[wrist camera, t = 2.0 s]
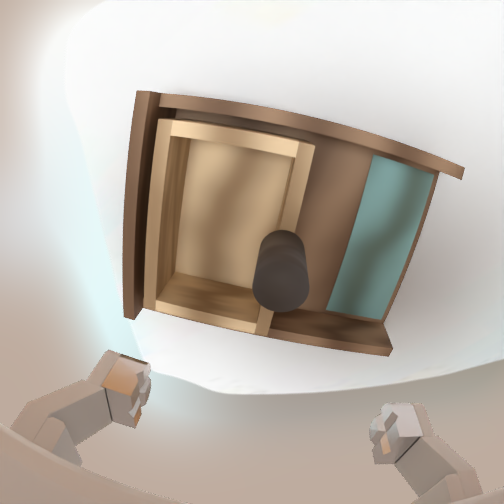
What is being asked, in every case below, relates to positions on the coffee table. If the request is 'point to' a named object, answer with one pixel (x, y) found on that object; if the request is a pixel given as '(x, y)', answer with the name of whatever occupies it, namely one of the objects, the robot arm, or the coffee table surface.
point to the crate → (225, 224)
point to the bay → (310, 217)
